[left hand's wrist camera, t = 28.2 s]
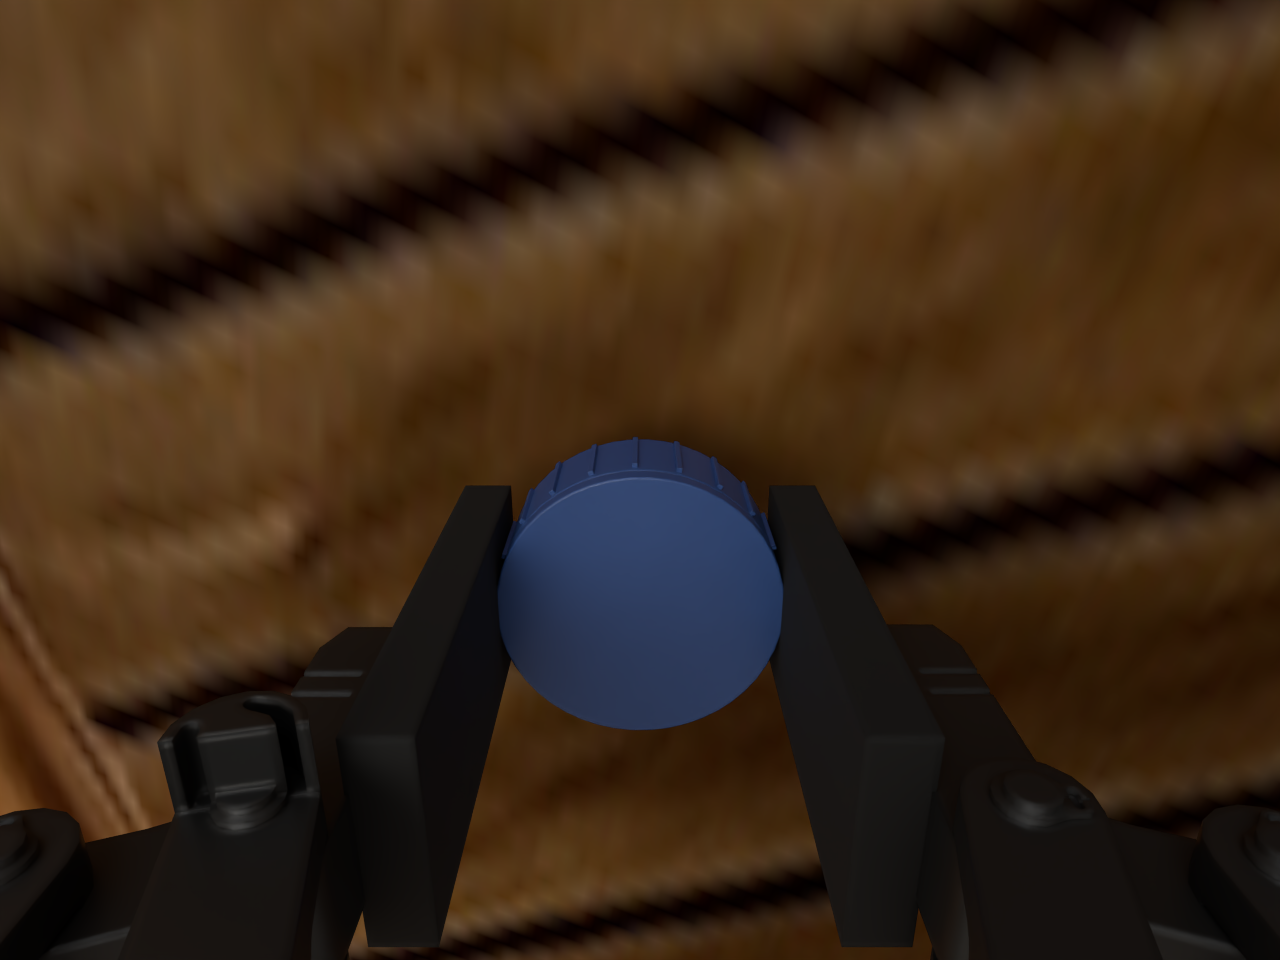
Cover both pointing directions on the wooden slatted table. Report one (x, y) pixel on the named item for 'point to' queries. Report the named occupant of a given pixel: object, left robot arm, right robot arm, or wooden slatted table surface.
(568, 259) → the wooden slatted table surface
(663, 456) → the cap
